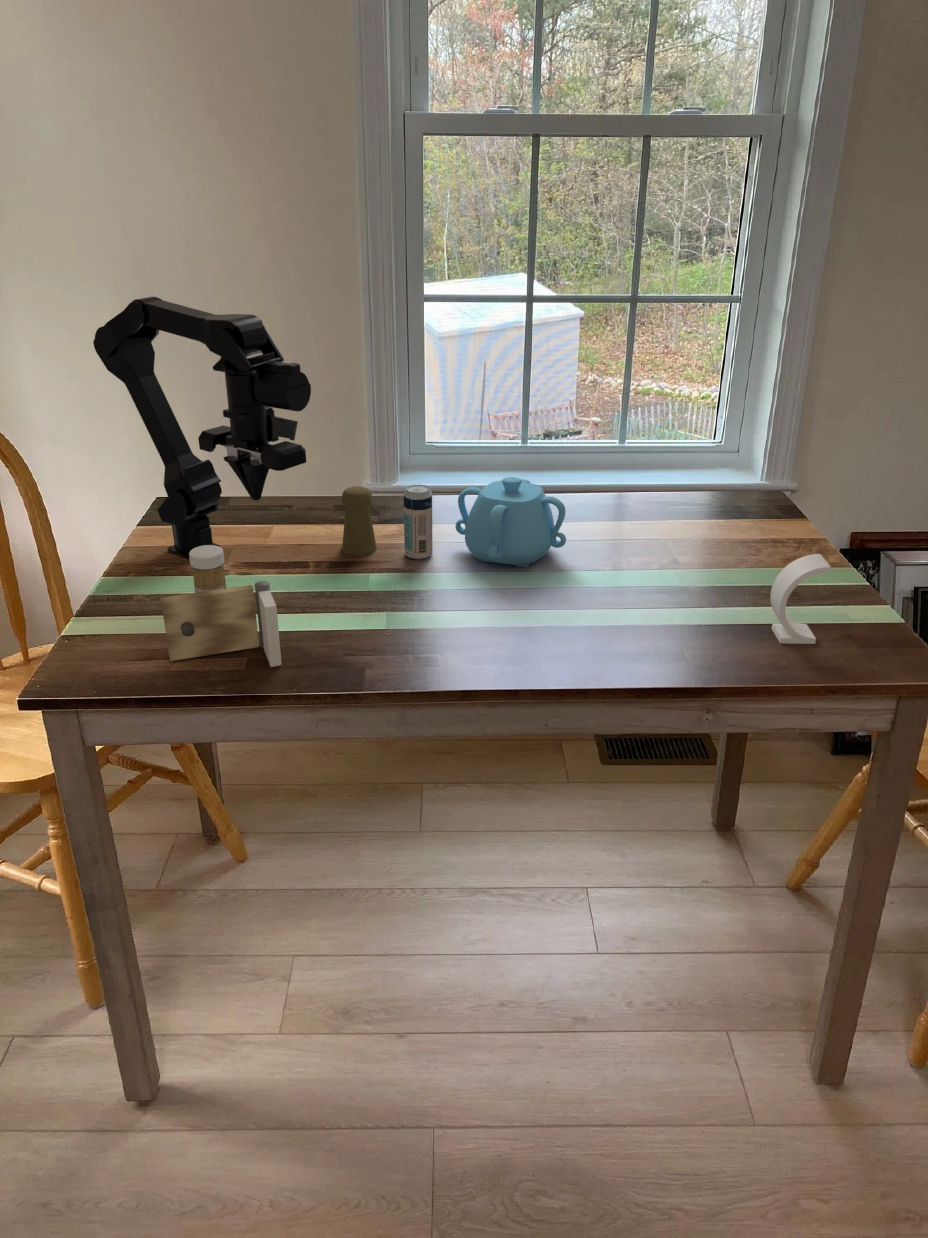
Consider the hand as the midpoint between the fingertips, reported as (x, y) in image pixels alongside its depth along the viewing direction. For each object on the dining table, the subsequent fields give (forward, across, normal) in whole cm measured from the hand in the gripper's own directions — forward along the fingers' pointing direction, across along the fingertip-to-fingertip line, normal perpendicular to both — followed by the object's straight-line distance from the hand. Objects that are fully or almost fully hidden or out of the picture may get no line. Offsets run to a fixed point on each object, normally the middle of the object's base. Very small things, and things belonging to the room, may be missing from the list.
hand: (256, 499), depth 151 cm
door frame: (+12, -23, +19) cm, 32 cm away
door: (+12, -17, +24) cm, 32 cm away
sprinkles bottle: (+12, -13, +21) cm, 27 cm away
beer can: (+12, -17, -20) cm, 29 cm away
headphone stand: (+12, -78, -30) cm, 84 cm away
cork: (+12, -7, -16) cm, 21 cm away
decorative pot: (+12, -29, -30) cm, 43 cm away
